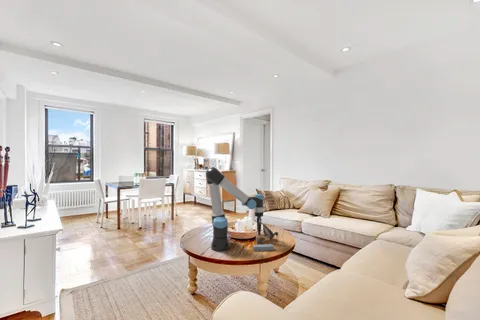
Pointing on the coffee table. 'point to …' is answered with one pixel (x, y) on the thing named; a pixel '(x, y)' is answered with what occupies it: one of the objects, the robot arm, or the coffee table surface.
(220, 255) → the coffee table surface
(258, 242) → the walnut block
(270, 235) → the decorative duck model
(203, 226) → the coffee table surface
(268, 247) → the board
